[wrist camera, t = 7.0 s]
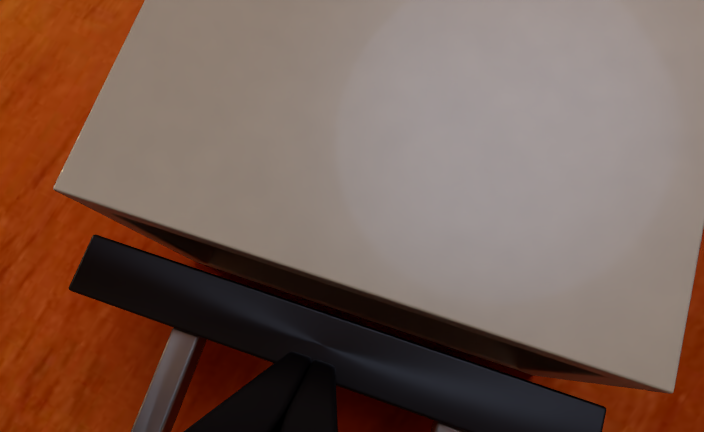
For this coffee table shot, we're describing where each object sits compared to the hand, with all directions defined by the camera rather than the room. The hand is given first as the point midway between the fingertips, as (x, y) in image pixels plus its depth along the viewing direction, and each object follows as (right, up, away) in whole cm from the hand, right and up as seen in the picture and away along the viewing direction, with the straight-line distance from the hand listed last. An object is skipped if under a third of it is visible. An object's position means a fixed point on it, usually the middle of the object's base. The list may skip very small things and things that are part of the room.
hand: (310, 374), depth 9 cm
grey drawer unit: (+3, +5, +9) cm, 11 cm away
